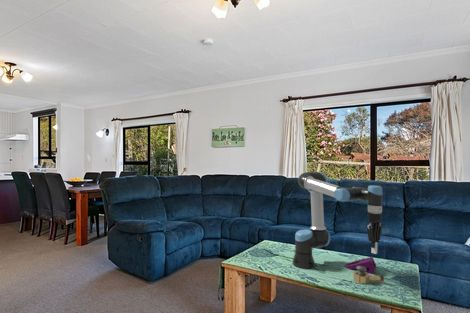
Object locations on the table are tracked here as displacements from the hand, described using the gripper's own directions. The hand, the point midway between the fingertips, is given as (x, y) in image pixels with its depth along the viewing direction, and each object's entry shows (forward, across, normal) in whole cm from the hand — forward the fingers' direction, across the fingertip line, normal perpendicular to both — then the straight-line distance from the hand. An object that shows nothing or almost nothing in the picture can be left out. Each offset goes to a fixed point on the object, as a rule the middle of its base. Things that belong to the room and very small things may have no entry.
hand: (374, 253), depth 162 cm
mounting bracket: (+21, +15, +20) cm, 32 cm away
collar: (+19, +3, +5) cm, 20 cm away
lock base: (+20, 0, +8) cm, 22 cm away
